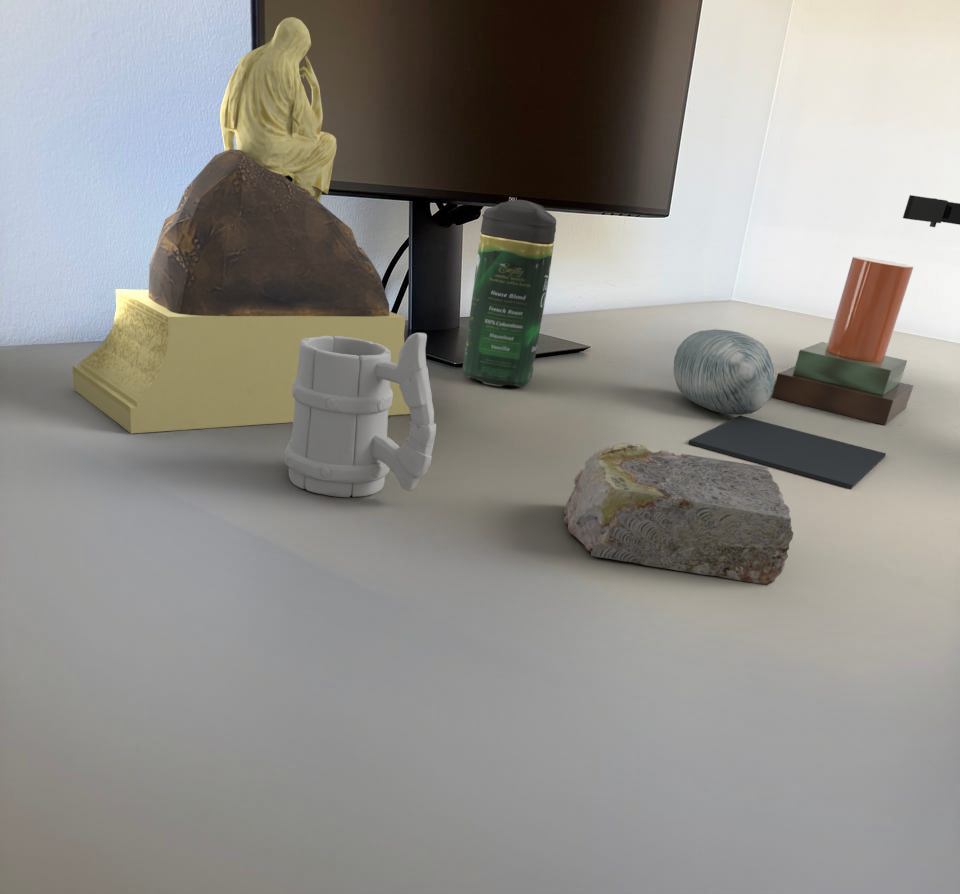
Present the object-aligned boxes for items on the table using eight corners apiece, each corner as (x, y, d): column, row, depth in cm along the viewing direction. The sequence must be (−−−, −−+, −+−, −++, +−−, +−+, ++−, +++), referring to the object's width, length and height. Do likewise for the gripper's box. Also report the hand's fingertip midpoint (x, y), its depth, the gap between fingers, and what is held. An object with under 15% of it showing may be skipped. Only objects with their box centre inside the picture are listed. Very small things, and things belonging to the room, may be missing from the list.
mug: (328, 457, 77) (338, 299, 71) (453, 499, 72) (475, 334, 66) (261, 477, 71) (267, 306, 65) (393, 524, 66) (411, 344, 60)
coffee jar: (528, 393, 105) (557, 208, 97) (456, 381, 106) (479, 196, 97) (535, 375, 114) (562, 204, 105) (469, 364, 114) (490, 192, 106)
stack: (905, 408, 126) (921, 361, 124) (885, 425, 115) (901, 374, 113) (800, 383, 132) (813, 338, 129) (771, 397, 121) (784, 348, 118)
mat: (884, 456, 101) (886, 453, 101) (851, 489, 89) (852, 484, 89) (738, 418, 108) (739, 415, 108) (688, 443, 95) (689, 439, 95)
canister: (888, 358, 122) (918, 266, 117) (877, 364, 117) (907, 268, 112) (833, 346, 125) (859, 255, 120) (819, 351, 120) (847, 257, 115)
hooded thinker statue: (351, 378, 101) (375, 42, 87) (423, 412, 92) (462, 47, 79) (73, 389, 84) (49, -25, 70) (131, 433, 75) (115, -28, 62)
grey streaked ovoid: (669, 404, 118) (642, 342, 110) (733, 355, 117) (710, 290, 110) (736, 456, 108) (711, 391, 101) (805, 403, 108) (785, 335, 100)
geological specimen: (813, 519, 63) (587, 475, 62) (782, 601, 66) (565, 560, 65) (776, 464, 72) (578, 426, 71) (749, 539, 75) (560, 502, 74)
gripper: (1136, 276, 120) (1033, 265, 110) (966, 243, 139) (864, 231, 129) (1164, 210, 117) (1060, 193, 107) (986, 186, 135) (883, 169, 125)
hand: (953, 214), depth 118 cm, fingers open, 13 cm apart
